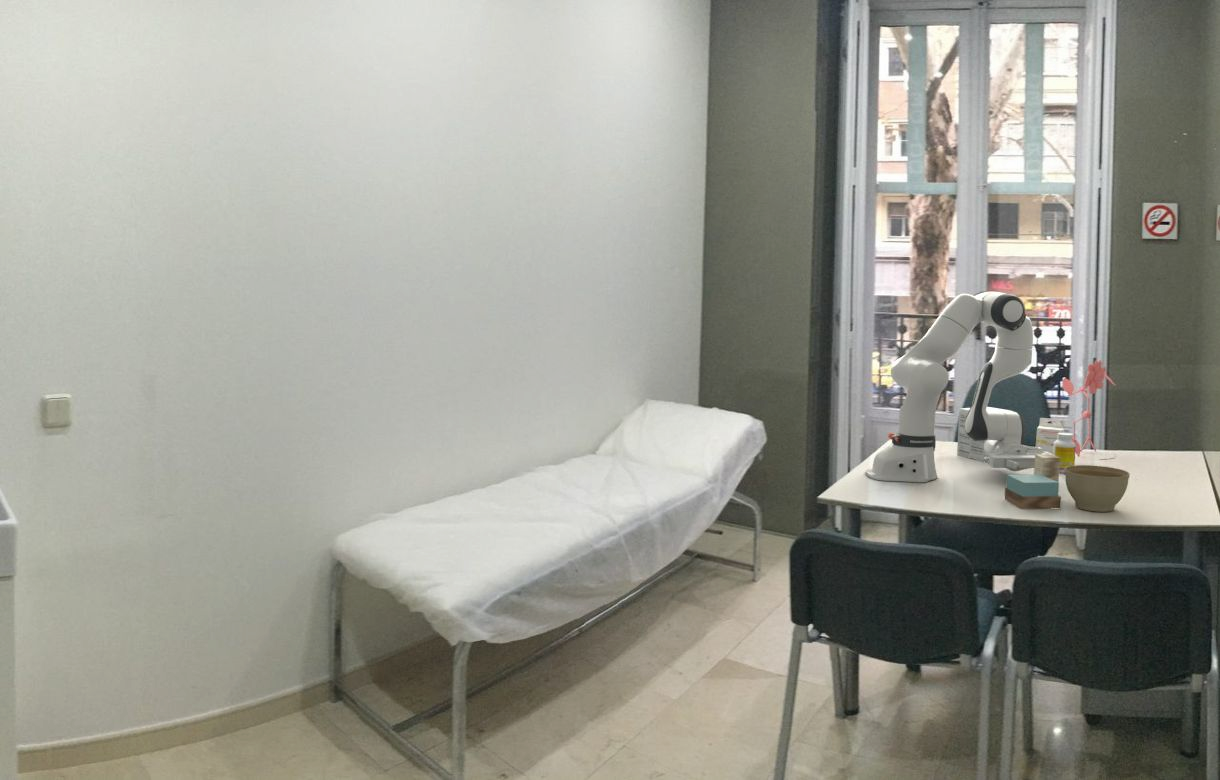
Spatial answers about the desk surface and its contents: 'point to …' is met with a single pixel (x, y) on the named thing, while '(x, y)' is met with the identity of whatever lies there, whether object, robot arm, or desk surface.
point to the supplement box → (966, 443)
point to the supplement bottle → (1064, 450)
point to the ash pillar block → (1047, 466)
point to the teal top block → (1032, 485)
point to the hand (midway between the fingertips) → (1033, 465)
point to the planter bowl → (1096, 486)
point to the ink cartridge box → (1048, 433)
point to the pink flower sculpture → (1093, 382)
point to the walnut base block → (1032, 501)
